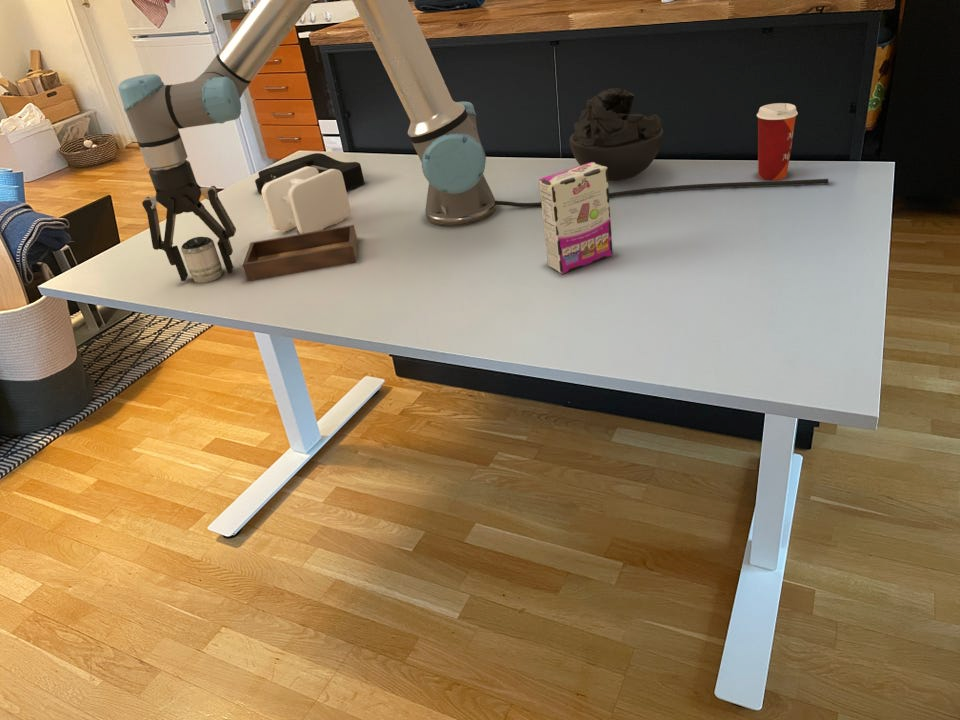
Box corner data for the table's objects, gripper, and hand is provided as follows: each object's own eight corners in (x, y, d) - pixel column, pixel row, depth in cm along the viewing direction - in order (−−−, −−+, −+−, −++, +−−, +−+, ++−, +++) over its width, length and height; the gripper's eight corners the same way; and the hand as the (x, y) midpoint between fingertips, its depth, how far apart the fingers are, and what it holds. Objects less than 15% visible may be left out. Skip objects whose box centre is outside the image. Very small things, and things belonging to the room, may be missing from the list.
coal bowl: (646, 158, 176) (644, 75, 166) (676, 184, 159) (677, 93, 149) (563, 173, 175) (557, 90, 165) (585, 201, 158) (579, 110, 148)
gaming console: (254, 192, 195) (246, 165, 191) (318, 169, 205) (311, 143, 202) (306, 210, 177) (299, 181, 173) (373, 184, 187) (367, 156, 184)
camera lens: (197, 286, 147) (183, 250, 143) (189, 277, 152) (176, 241, 148) (228, 276, 150) (215, 239, 145) (219, 266, 154) (207, 231, 150)
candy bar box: (597, 247, 137) (592, 160, 129) (613, 256, 133) (609, 166, 125) (545, 266, 134) (537, 177, 125) (560, 275, 130) (553, 184, 121)
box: (357, 240, 157) (353, 224, 155) (356, 262, 147) (352, 245, 145) (255, 257, 156) (250, 242, 154) (247, 281, 146) (242, 265, 144)
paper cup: (797, 179, 152) (804, 109, 145) (759, 184, 153) (763, 114, 146) (784, 167, 159) (790, 100, 152) (748, 172, 160) (751, 105, 152)
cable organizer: (302, 242, 160) (287, 190, 154) (272, 235, 166) (257, 184, 160) (353, 216, 169) (341, 166, 163) (323, 210, 175) (310, 162, 169)
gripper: (228, 149, 142) (262, 257, 154) (116, 167, 141) (159, 275, 153) (221, 160, 136) (257, 272, 147) (104, 180, 135) (150, 291, 147)
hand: (207, 274), depth 150 cm, fingers open, 8 cm apart
